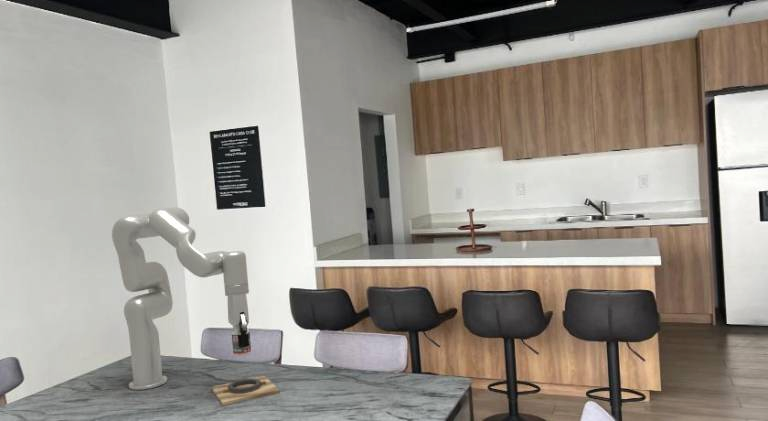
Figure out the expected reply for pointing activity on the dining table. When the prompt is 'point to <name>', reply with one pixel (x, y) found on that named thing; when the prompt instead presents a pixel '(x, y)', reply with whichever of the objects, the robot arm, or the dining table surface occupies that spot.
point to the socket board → (244, 390)
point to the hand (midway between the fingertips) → (241, 344)
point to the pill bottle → (236, 348)
